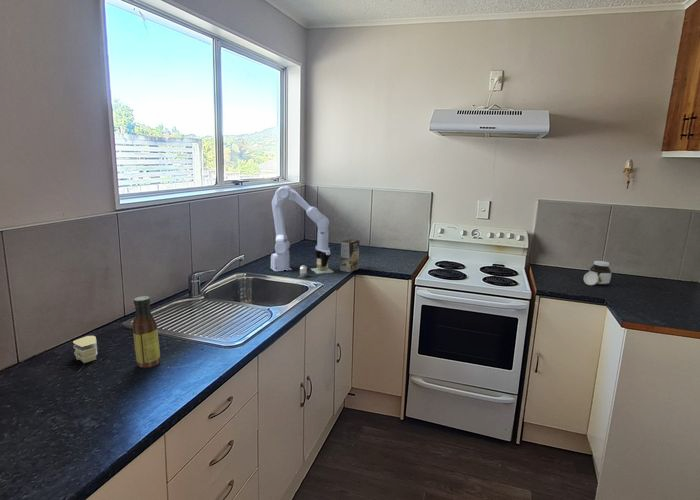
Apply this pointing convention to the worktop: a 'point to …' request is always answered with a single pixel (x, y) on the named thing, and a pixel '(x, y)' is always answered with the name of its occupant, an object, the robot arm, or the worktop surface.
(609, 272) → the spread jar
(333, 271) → the sage tile
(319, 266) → the maple block
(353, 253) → the coffee box
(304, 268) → the clear glass cylinder
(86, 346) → the cream layered block
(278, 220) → the robot arm
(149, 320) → the sauce bottle
